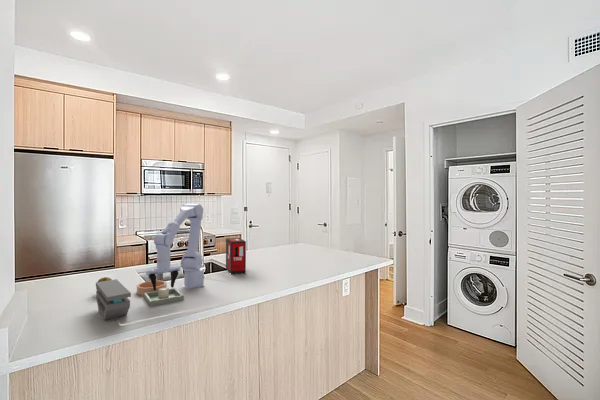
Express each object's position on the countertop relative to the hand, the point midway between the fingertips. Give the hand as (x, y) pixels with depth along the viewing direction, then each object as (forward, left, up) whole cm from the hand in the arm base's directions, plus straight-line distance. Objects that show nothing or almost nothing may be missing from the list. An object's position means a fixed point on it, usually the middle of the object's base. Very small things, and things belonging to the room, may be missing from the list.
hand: (163, 288), depth 143 cm
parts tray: (0, 0, -5) cm, 5 cm away
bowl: (+2, -15, -5) cm, 16 cm away
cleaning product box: (-51, -31, -6) cm, 60 cm away
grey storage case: (+21, +5, -6) cm, 22 cm away
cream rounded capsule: (0, 0, -5) cm, 5 cm away
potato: (+21, -23, -6) cm, 32 cm away
